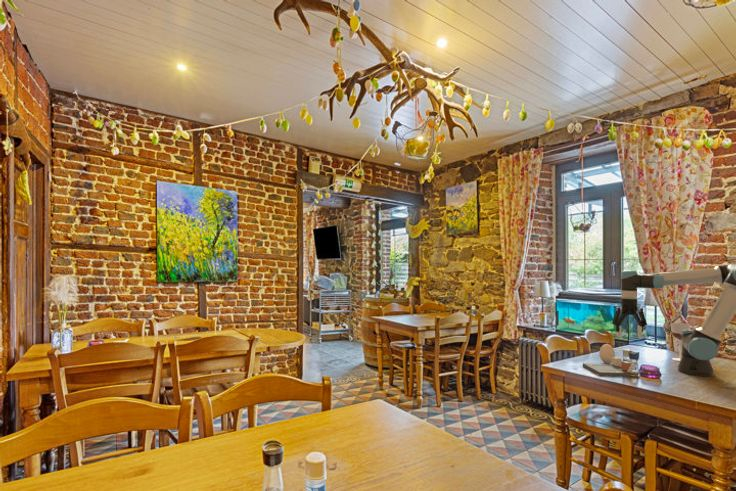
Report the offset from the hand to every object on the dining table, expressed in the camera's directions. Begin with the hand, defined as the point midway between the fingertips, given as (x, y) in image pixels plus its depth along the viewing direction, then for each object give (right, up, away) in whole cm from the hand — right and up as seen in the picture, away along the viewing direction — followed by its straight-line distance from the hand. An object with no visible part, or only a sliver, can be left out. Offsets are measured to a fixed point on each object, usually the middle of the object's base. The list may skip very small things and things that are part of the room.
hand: (629, 337), depth 221 cm
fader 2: (-8, -15, -9) cm, 19 cm away
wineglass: (+47, -19, +23) cm, 55 cm away
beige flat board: (-14, -18, -4) cm, 23 cm away
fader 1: (-7, -15, 0) cm, 17 cm away
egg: (-5, -18, +12) cm, 23 cm away
